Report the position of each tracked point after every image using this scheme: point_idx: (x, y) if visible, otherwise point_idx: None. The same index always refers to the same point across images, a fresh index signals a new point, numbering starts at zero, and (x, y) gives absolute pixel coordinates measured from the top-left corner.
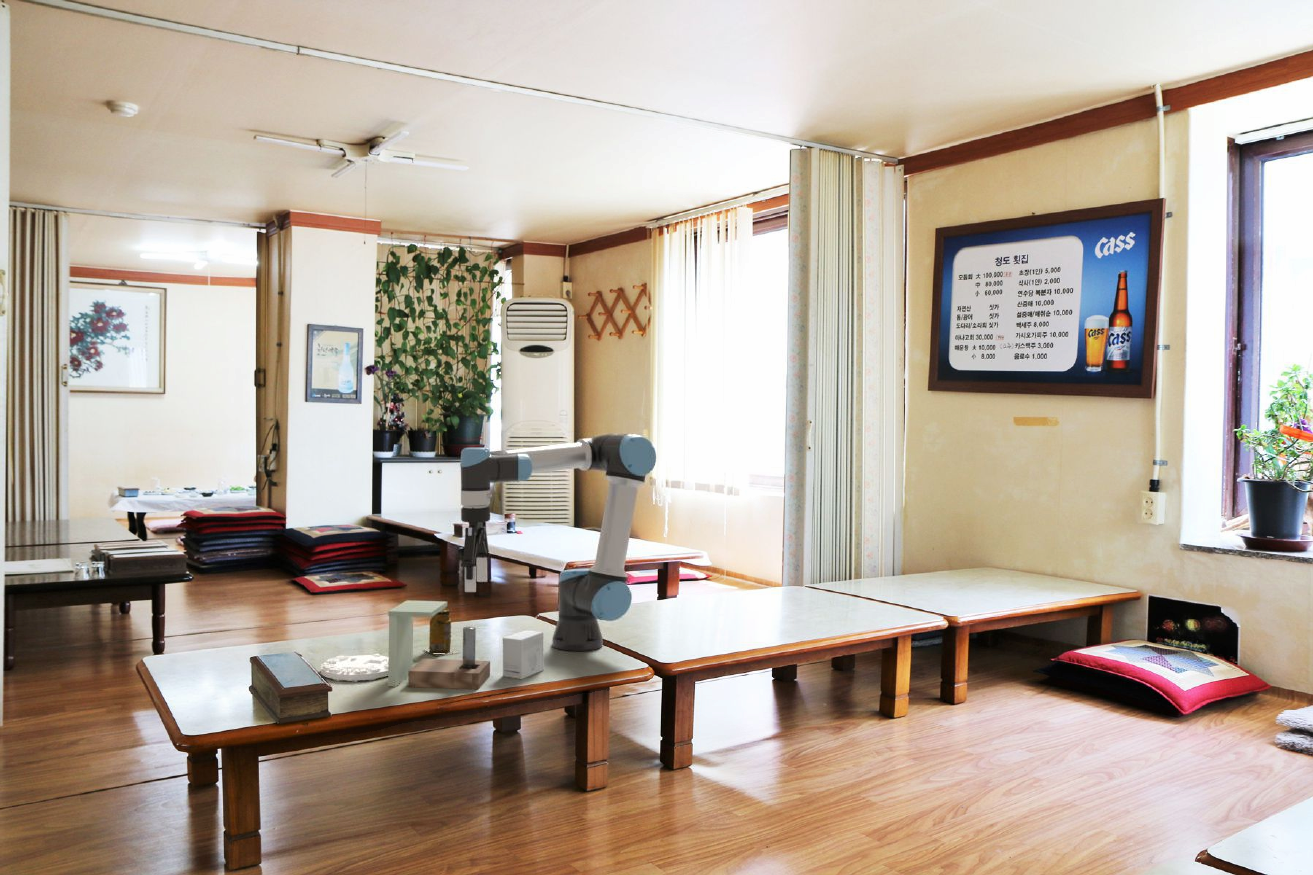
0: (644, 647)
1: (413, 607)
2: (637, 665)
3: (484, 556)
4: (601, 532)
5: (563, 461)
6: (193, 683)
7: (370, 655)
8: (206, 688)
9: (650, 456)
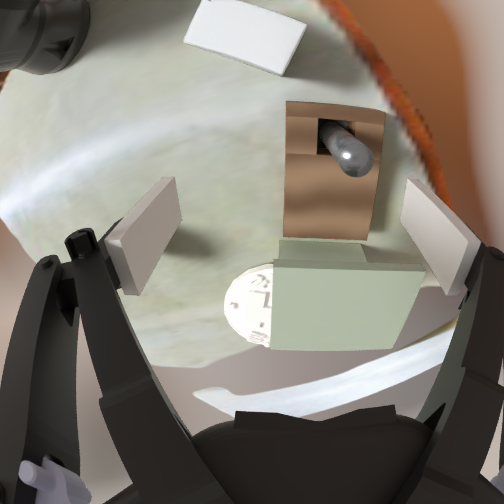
0: None
1: (358, 321)
2: None
3: (106, 259)
4: None
5: None
6: (327, 397)
7: (226, 313)
8: (344, 388)
9: None
